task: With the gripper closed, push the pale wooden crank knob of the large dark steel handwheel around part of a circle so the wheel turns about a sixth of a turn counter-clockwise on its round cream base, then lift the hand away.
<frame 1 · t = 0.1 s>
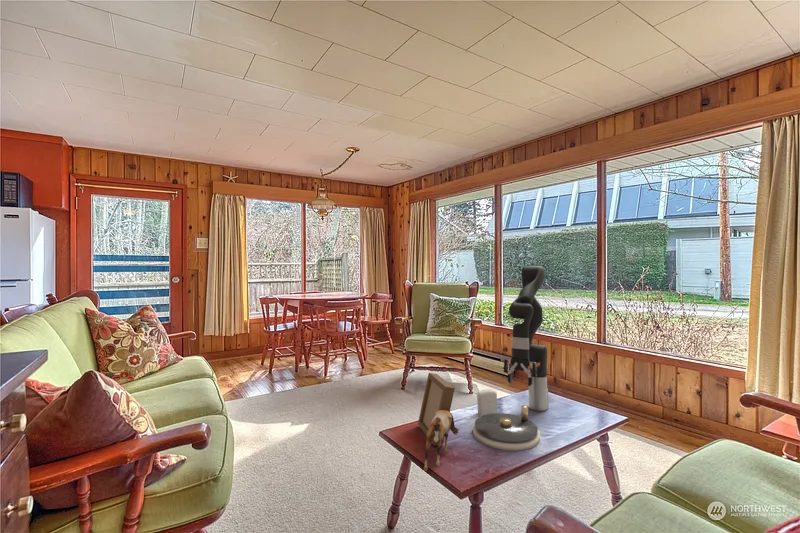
hand: (519, 384, 165), 22 cm above the table, tool pointing down, fingers open, 8 cm apart
photo frame: (440, 434, 167), on the table, touching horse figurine
photo printer: (487, 413, 189), on the table
handwheel: (505, 420, 165), point 6 cm above the table, hinge at 0.0°
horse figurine: (445, 459, 145), on the table, touching photo frame
base plate: (505, 434, 165), on the table
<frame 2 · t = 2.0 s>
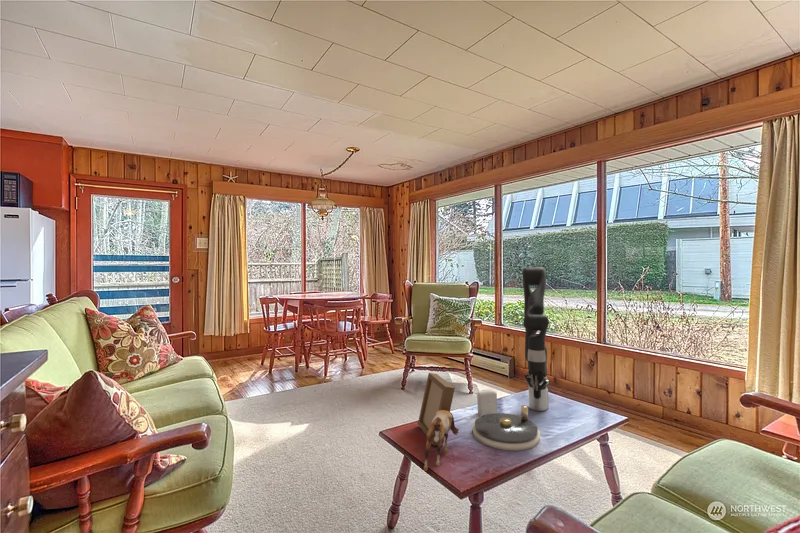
hand: (537, 398, 165), 16 cm above the table, tool pointing down, fingers closed
nothing on the table moved.
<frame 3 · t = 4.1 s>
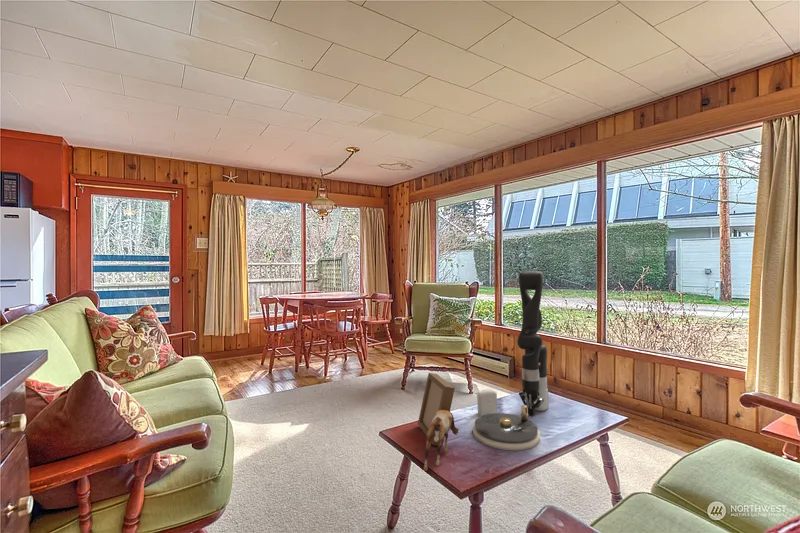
hand: (531, 416, 168), 7 cm above the table, tool pointing down, fingers closed
handwheel: (505, 420, 165), point 6 cm above the table, hinge at 0.0°, touching gripper
everything else where it was.
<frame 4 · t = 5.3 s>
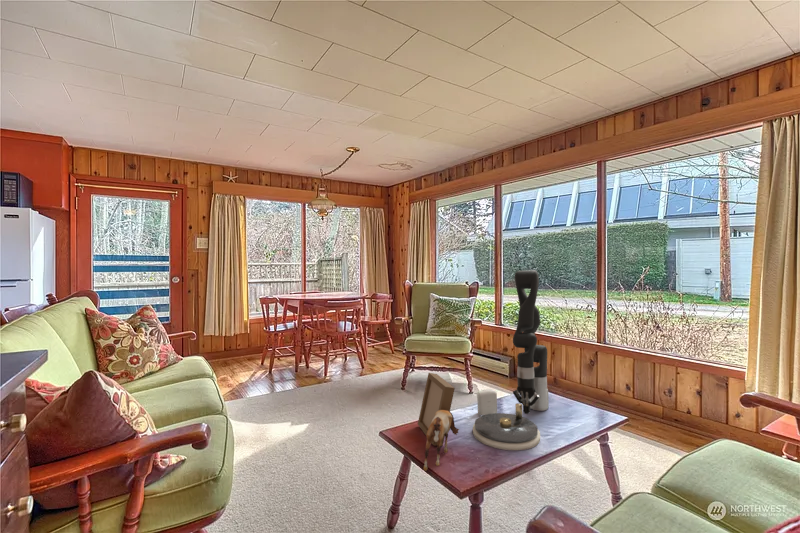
hand: (526, 413, 171), 7 cm above the table, tool pointing down, fingers closed
handwheel: (505, 420, 165), point 6 cm above the table, hinge at 15.0°, touching gripper
everything else where it was.
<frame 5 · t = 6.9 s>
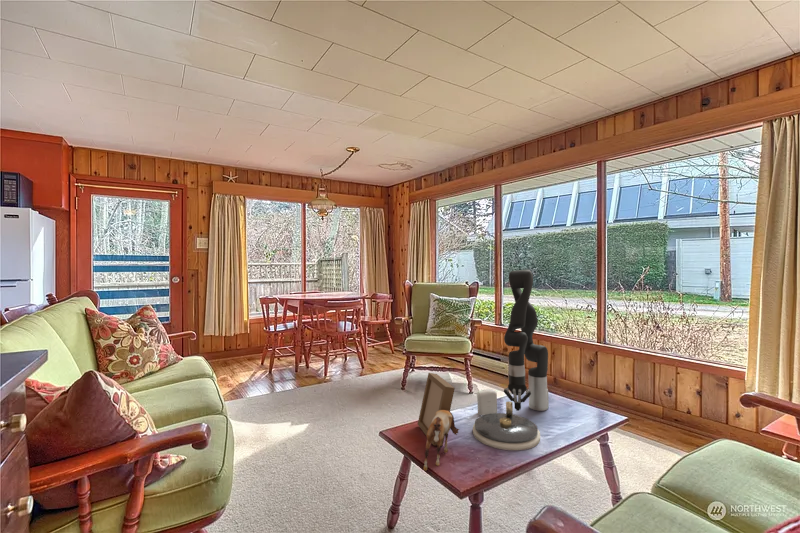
hand: (517, 410, 175), 7 cm above the table, tool pointing down, fingers closed
handwheel: (505, 420, 165), point 6 cm above the table, hinge at 36.9°, touching gripper
everything else where it was.
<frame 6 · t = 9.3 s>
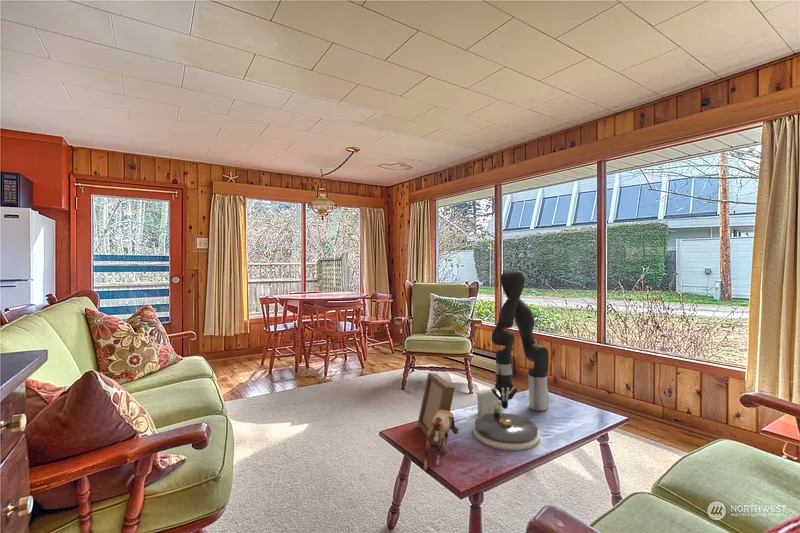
hand: (504, 408, 178), 7 cm above the table, tool pointing down, fingers closed
photo frame: (440, 434, 167), on the table
handwheel: (505, 420, 165), point 6 cm above the table, hinge at 65.1°, touching gripper
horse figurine: (445, 459, 145), on the table
everything else where it was.
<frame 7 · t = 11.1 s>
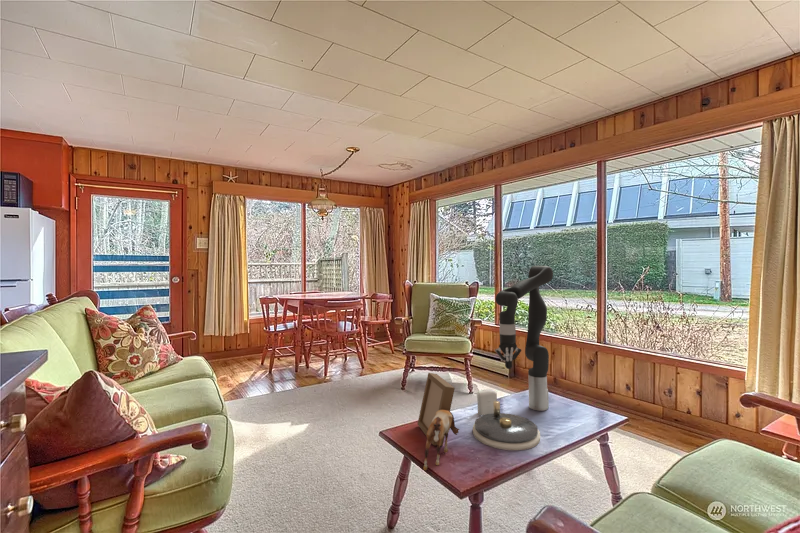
hand: (508, 368, 179), 26 cm above the table, tool pointing down, fingers closed
photo frame: (440, 434, 167), on the table, touching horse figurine
handwheel: (505, 420, 165), point 6 cm above the table, hinge at 65.1°
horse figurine: (444, 459, 145), on the table, touching photo frame
everything else where it was.
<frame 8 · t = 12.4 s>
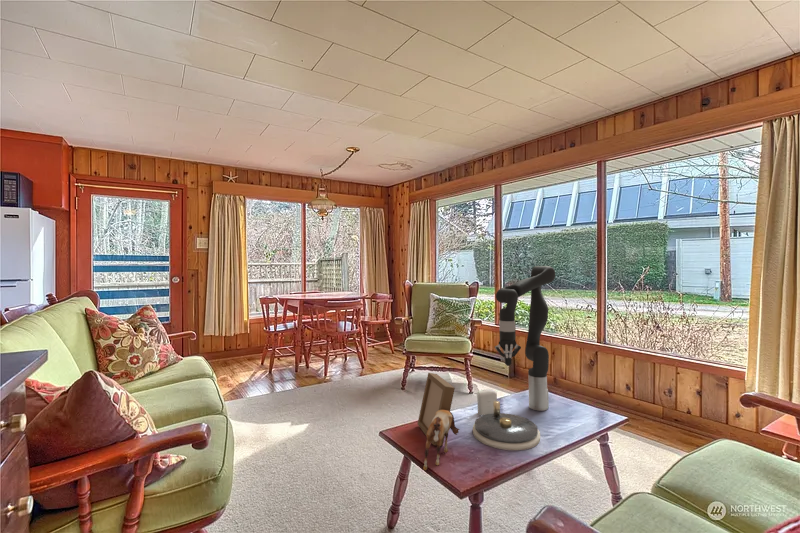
hand: (508, 365, 180), 27 cm above the table, tool pointing down, fingers closed
nothing on the table moved.
at the end: handwheel at +65° (first picture: +0°) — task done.
